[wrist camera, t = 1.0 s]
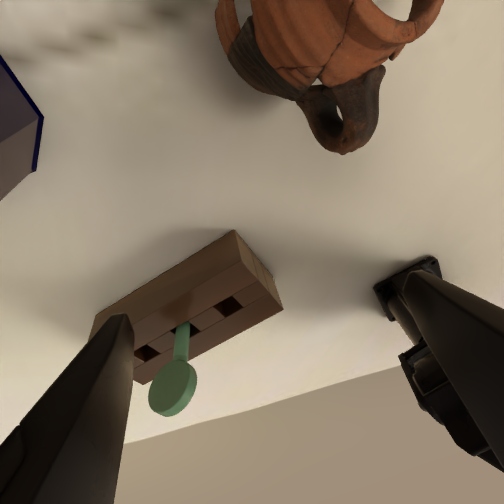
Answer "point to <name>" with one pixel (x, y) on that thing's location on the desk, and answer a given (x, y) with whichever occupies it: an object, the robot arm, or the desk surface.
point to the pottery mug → (322, 58)
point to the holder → (197, 304)
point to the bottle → (17, 131)
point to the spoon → (174, 378)
